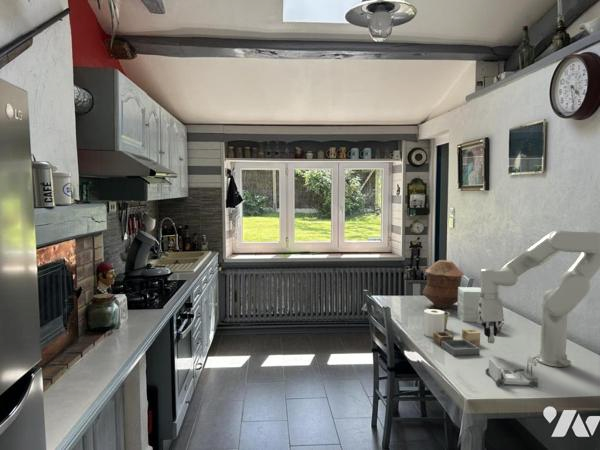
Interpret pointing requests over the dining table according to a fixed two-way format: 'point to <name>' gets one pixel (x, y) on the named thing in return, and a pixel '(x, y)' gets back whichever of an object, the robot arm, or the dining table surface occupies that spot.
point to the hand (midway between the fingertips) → (490, 335)
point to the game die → (499, 326)
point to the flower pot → (446, 319)
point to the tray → (460, 347)
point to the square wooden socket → (441, 337)
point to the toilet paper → (433, 321)
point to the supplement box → (468, 303)
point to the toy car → (513, 374)
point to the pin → (491, 332)
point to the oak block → (471, 336)
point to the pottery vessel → (443, 283)
